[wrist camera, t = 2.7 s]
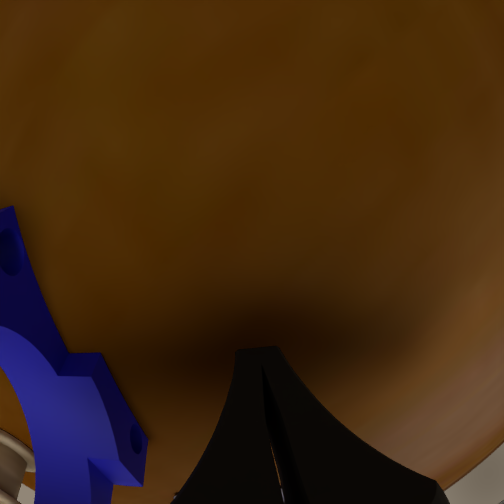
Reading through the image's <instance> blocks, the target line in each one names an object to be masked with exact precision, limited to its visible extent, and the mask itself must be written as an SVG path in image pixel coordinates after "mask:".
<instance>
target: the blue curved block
mask: <svg viewBox="0 0 504 504" xmlns="http://www.w3.org/2000/svg"><path fill="white" fill-rule="evenodd" d="M0 366H1V367H2V369H3V370H4V372H5V374H6V375H7V377H8V379H9V380H10V382H11V384H12V386H13V388H14V390H15V392H16V394H17V396H18V399H19V401H20V403H21V406H22V409H23V411H24V414H25V417H26V420H27V424H28V427H29V431H30V435H31V440H32V445H33V451H34V459H35V471H36V489H35V501H34V504H111V497H112V490H113V484H115V485H126V486H139V487H143V482H144V472H145V463H146V454H147V446H148V439H147V437H146V435H145V434H144V432H143V431H142V429H141V427H140V426H139V424H138V422H137V421H136V419H135V417H134V416H133V414H132V412H131V410H130V409H129V407H128V405H127V403H126V402H125V400H124V398H123V396H122V394H121V393H120V391H119V389H118V387H117V385H116V383H115V381H114V379H113V377H112V375H111V373H110V371H109V369H108V367H107V365H106V363H105V361H104V359H103V357H102V355H101V353H68V351H67V349H66V347H65V345H64V343H63V341H62V339H61V337H60V335H59V333H58V330H57V328H56V326H55V324H54V322H53V320H52V317H51V315H50V313H49V310H48V308H47V306H46V303H45V301H44V299H43V296H42V294H41V291H40V288H39V286H38V283H37V281H36V278H35V275H34V273H33V270H32V267H31V264H30V261H29V258H28V255H27V252H26V249H25V246H24V243H23V239H22V236H21V233H20V229H19V226H18V222H17V218H16V215H15V211H14V207H13V206H10V207H7V208H3V209H0Z"/></svg>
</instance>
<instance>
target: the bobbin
mask: <svg viewBox="0 0 504 504" xmlns="http://www.w3.org/2000/svg"><path fill="white" fill-rule="evenodd" d="M25 471H28V472H36V471H35V459H34V452H33V451H32V450H31V449H30V448H28V447H27V446H26V445H25V444H23V443H22V442H21V441H19V440H18V439H16V438H15V437H13V436H12V435H10V434H9V433H7V432H5V431H3V430H1V429H0V504H21V503H20V502H18V501H17V497H18V493H19V490H20V487H21V483H22V480H23V477H24V474H25Z"/></svg>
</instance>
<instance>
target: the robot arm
mask: <svg viewBox="0 0 504 504" xmlns="http://www.w3.org/2000/svg"><path fill="white" fill-rule="evenodd" d="M269 439H270V440H269ZM270 443H271V445H270ZM271 447H272V449H271ZM272 450H273V454H274V457H275V461H276V464H277V468H278V472H279V476H280V481H281V487H282V489H281V488H280V484H279V480H278V476H277V471H276V467H275V463H274V458H273V454H272ZM170 504H450V503H449V501H448V499H447V497H446V495H445V493H444V491H443V490H442V489H441V487H440V486H439V484H438V483H437V481H435V480H433V479H430V478H428V477H426V476H423V475H421V474H419V473H417V472H415V471H412V470H410V469H408V468H406V467H404V466H403V465H401V464H399V463H397V462H395V461H393V460H392V459H390V458H388V457H387V456H385V455H384V454H382V453H380V452H379V451H377V450H376V449H374V448H373V447H371V446H370V445H368V444H367V443H365V442H364V441H363V440H361V439H360V438H359V437H357V436H356V435H355V434H354V433H352V432H351V431H350V430H349V429H347V428H346V427H345V426H344V425H343V424H342V423H341V422H339V421H338V420H337V419H336V418H335V417H334V416H333V415H332V414H331V413H330V412H329V411H328V410H327V409H326V408H325V407H324V406H323V405H322V404H321V403H320V402H319V401H318V400H317V399H316V397H315V396H314V395H313V394H312V393H311V392H310V390H309V389H308V388H307V387H306V386H305V384H304V383H303V382H302V381H301V380H300V378H299V377H298V376H297V374H296V373H295V371H294V370H293V369H292V367H291V366H290V364H289V363H288V361H287V360H286V358H285V357H284V355H283V353H282V352H281V350H280V348H279V347H277V346H270V347H260V348H250V349H239V350H238V351H236V352H235V367H234V372H233V377H232V382H231V385H230V389H229V392H228V396H227V399H226V402H225V405H224V408H223V411H222V413H221V416H220V419H219V421H218V424H217V426H216V429H215V431H214V433H213V435H212V437H211V439H210V442H209V444H208V446H207V448H206V450H205V451H204V453H203V455H202V457H201V459H200V460H199V462H198V464H197V466H196V467H195V469H194V471H193V472H192V474H191V475H190V477H189V478H188V480H187V481H186V483H185V484H184V486H183V487H182V488H181V490H180V491H179V493H178V494H177V495H176V496H174V500H173V501H172V502H171V503H170ZM499 504H504V500H503V501H501V502H500V503H499Z"/></svg>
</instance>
